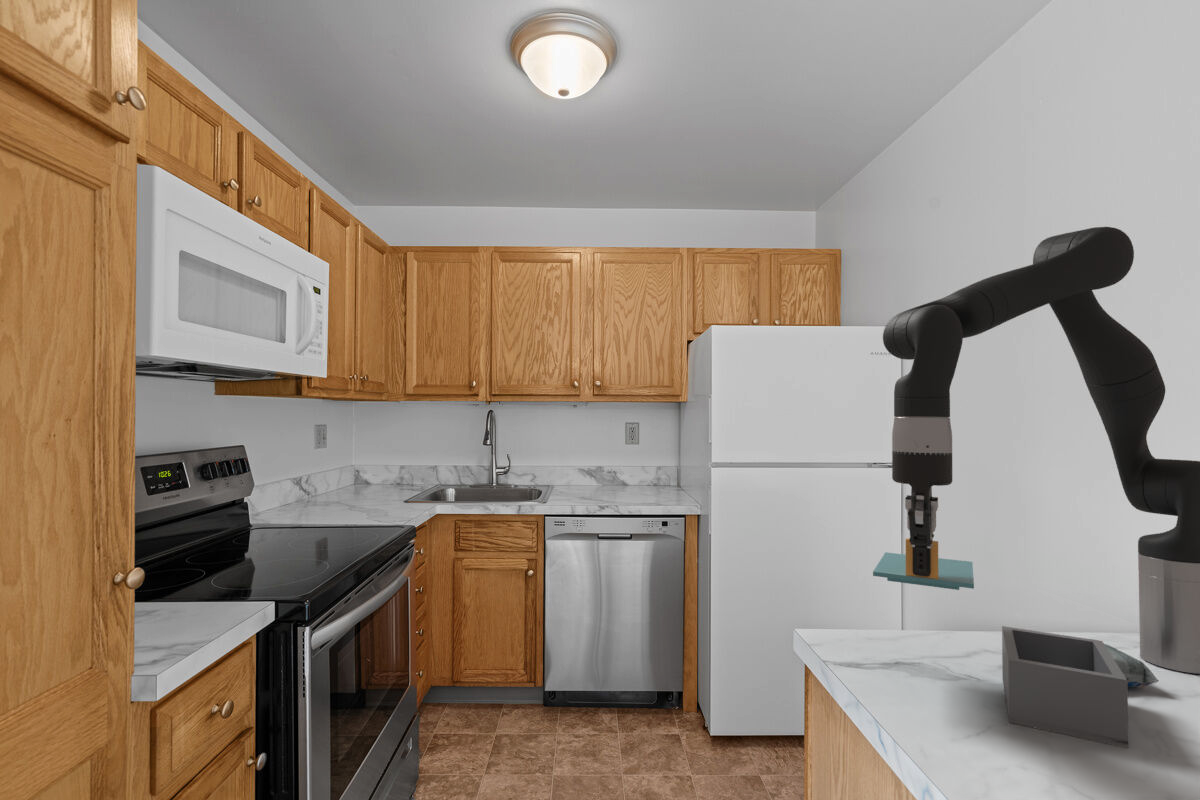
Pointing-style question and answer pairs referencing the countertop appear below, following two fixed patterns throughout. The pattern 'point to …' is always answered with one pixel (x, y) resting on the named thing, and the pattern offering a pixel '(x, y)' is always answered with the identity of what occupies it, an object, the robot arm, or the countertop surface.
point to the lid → (942, 570)
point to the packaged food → (1132, 669)
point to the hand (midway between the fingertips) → (922, 573)
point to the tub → (1064, 685)
